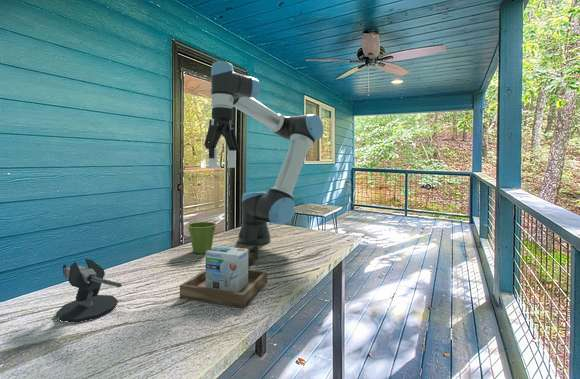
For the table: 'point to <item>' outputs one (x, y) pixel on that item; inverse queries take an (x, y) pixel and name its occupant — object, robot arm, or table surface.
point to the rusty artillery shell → (252, 254)
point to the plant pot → (201, 236)
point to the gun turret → (87, 293)
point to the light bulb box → (227, 268)
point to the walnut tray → (199, 292)
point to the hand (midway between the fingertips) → (222, 168)
